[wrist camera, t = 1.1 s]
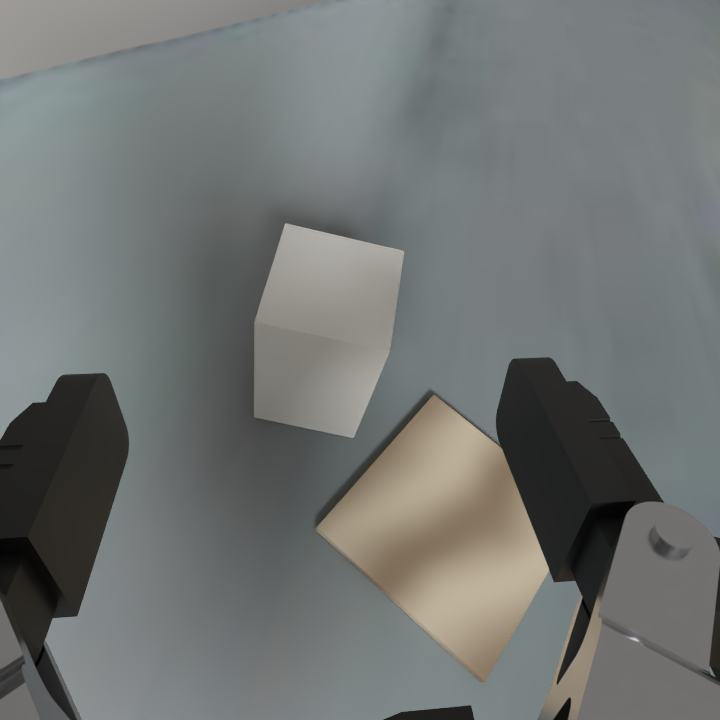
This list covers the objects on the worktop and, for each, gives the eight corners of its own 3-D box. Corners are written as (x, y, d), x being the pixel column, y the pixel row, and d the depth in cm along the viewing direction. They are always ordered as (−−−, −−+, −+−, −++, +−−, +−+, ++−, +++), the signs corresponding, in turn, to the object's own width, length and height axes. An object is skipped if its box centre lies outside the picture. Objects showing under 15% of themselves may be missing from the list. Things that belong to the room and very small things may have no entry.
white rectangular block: (254, 417, 32) (254, 321, 23) (277, 334, 35) (285, 223, 26) (353, 438, 32) (389, 351, 24) (367, 354, 35) (404, 251, 27)
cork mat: (315, 529, 29) (316, 527, 29) (431, 398, 34) (433, 394, 34) (480, 681, 27) (485, 681, 26) (577, 515, 32) (582, 512, 32)
